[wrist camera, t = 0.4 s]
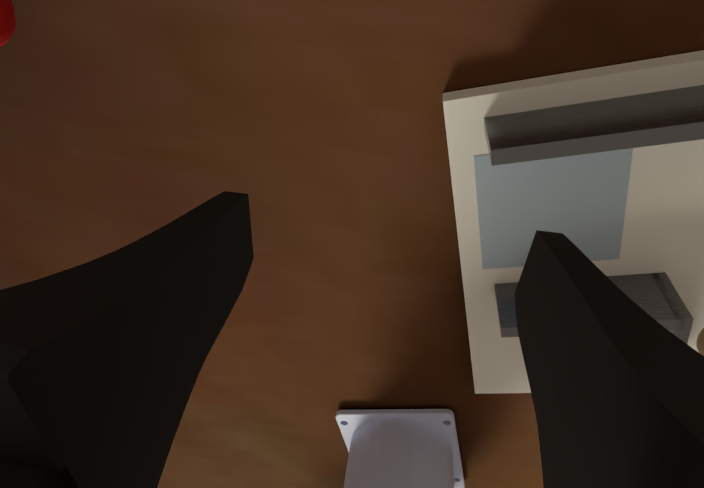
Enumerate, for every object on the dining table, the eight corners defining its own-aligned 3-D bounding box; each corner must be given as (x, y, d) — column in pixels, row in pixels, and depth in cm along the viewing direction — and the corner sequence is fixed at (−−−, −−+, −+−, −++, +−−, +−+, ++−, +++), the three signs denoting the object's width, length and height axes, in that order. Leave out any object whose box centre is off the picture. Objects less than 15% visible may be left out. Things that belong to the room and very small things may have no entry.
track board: (837, 371, 25) (851, 388, 24) (473, 380, 29) (475, 394, 29) (1037, -5, 15) (1072, 1, 14) (442, 93, 19) (442, 101, 19)
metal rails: (839, 368, 24) (885, 422, 21) (499, 376, 27) (506, 423, 25) (1015, 38, 15) (1126, 65, 13) (483, 117, 19) (490, 150, 16)
